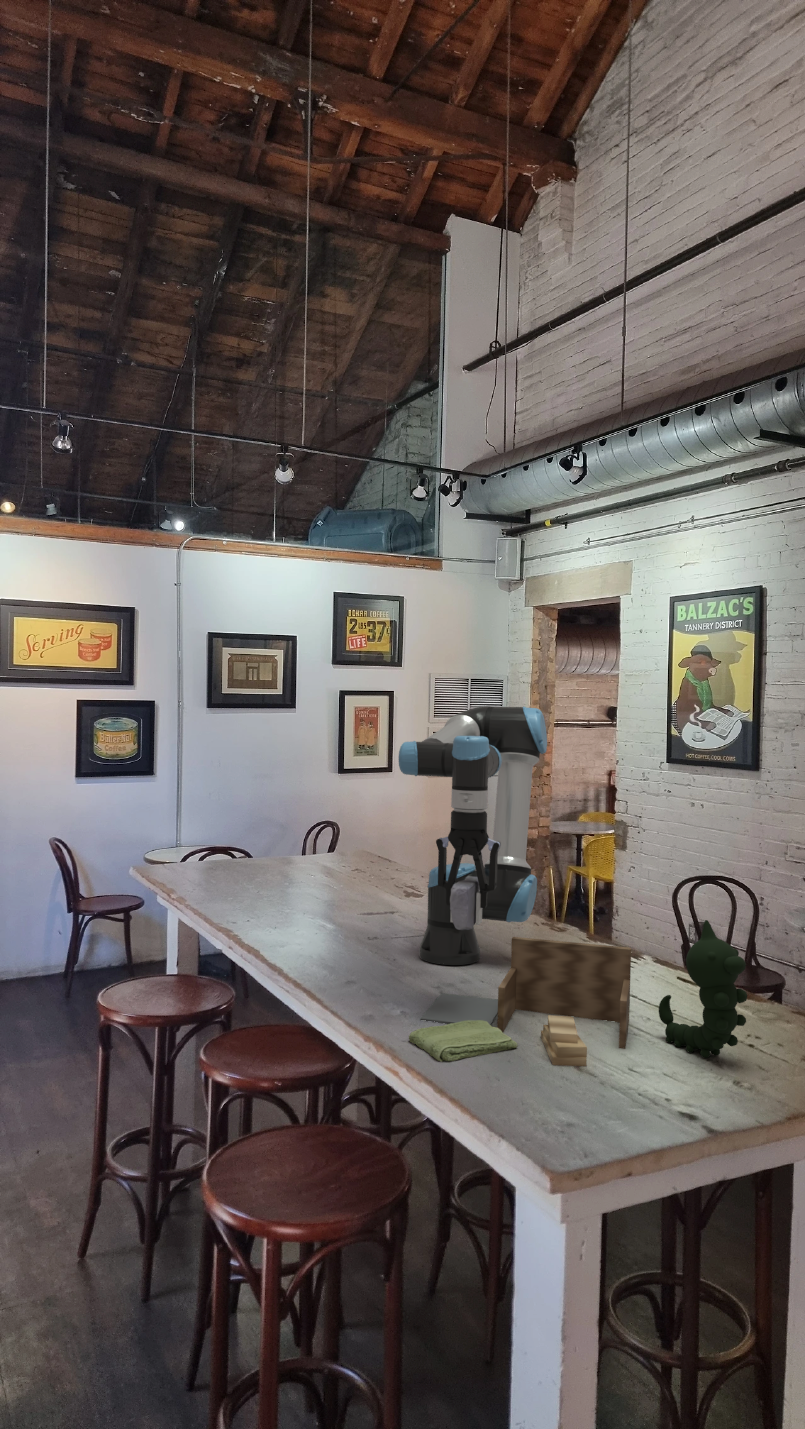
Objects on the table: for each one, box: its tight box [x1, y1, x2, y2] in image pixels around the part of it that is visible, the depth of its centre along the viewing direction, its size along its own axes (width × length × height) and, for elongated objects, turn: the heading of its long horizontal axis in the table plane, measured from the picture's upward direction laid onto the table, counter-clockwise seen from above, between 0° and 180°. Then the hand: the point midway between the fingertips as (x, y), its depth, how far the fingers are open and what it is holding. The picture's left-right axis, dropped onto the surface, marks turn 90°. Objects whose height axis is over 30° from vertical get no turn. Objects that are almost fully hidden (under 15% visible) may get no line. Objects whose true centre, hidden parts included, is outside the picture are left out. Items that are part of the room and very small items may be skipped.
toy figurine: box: [658, 919, 748, 1059], centre depth 175 cm, size 9×19×25 cm, turn 31°
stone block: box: [450, 876, 483, 930], centre depth 194 cm, size 12×5×10 cm, turn 156°
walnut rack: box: [496, 936, 632, 1050], centre depth 187 cm, size 24×16×15 cm, turn 74°
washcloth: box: [408, 1020, 518, 1063], centre depth 175 cm, size 13×18×3 cm
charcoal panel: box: [419, 992, 498, 1026], centre depth 194 cm, size 14×18×1 cm
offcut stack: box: [540, 1014, 588, 1067], centre depth 173 cm, size 14×6×5 cm, turn 0°
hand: (466, 921), depth 194 cm, fingers closed on stone block, 5 cm apart
